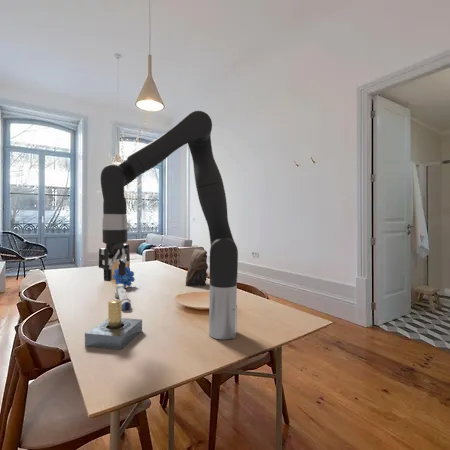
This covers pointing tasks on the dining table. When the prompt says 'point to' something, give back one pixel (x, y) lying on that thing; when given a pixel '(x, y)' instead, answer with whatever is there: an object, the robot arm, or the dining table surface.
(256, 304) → the dining table surface
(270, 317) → the dining table surface
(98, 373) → the dining table surface
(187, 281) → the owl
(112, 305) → the brass plug
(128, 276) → the blue flower
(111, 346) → the plate
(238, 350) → the dining table surface
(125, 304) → the white electric toothbrush
